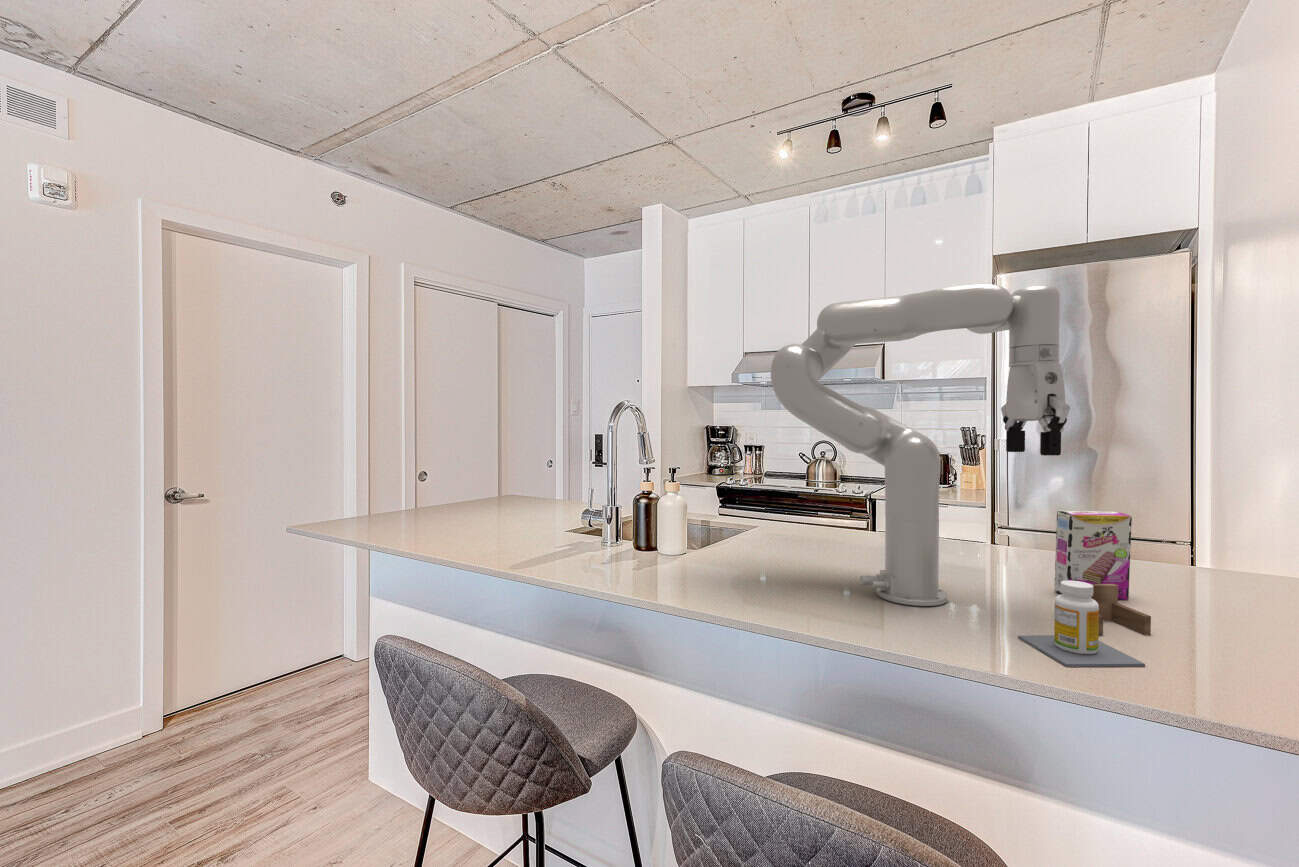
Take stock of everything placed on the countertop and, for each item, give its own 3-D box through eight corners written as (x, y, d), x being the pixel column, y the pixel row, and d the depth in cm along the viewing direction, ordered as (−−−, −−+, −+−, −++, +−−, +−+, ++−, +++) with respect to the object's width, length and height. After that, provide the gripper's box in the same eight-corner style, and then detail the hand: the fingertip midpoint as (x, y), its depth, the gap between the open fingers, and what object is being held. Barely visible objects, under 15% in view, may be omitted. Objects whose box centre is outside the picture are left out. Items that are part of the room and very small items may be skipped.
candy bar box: (1068, 599, 114) (1069, 513, 114) (1053, 591, 119) (1054, 509, 119) (1131, 601, 113) (1133, 514, 113) (1113, 593, 118) (1115, 510, 118)
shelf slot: (1096, 635, 96) (1097, 597, 95) (1063, 618, 103) (1063, 584, 103) (1150, 634, 96) (1151, 597, 95) (1112, 618, 103) (1113, 583, 103)
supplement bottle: (1090, 643, 91) (1091, 580, 91) (1104, 657, 86) (1105, 590, 86) (1049, 639, 93) (1050, 577, 92) (1060, 652, 88) (1061, 587, 87)
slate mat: (1066, 667, 84) (1066, 664, 84) (1017, 637, 95) (1018, 635, 95) (1145, 666, 84) (1145, 663, 84) (1087, 637, 95) (1087, 635, 95)
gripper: (1090, 352, 98) (1088, 456, 99) (1024, 362, 115) (1023, 450, 116) (1044, 352, 98) (1042, 457, 99) (985, 362, 115) (984, 450, 116)
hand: (1032, 453), depth 107 cm, fingers open, 9 cm apart
